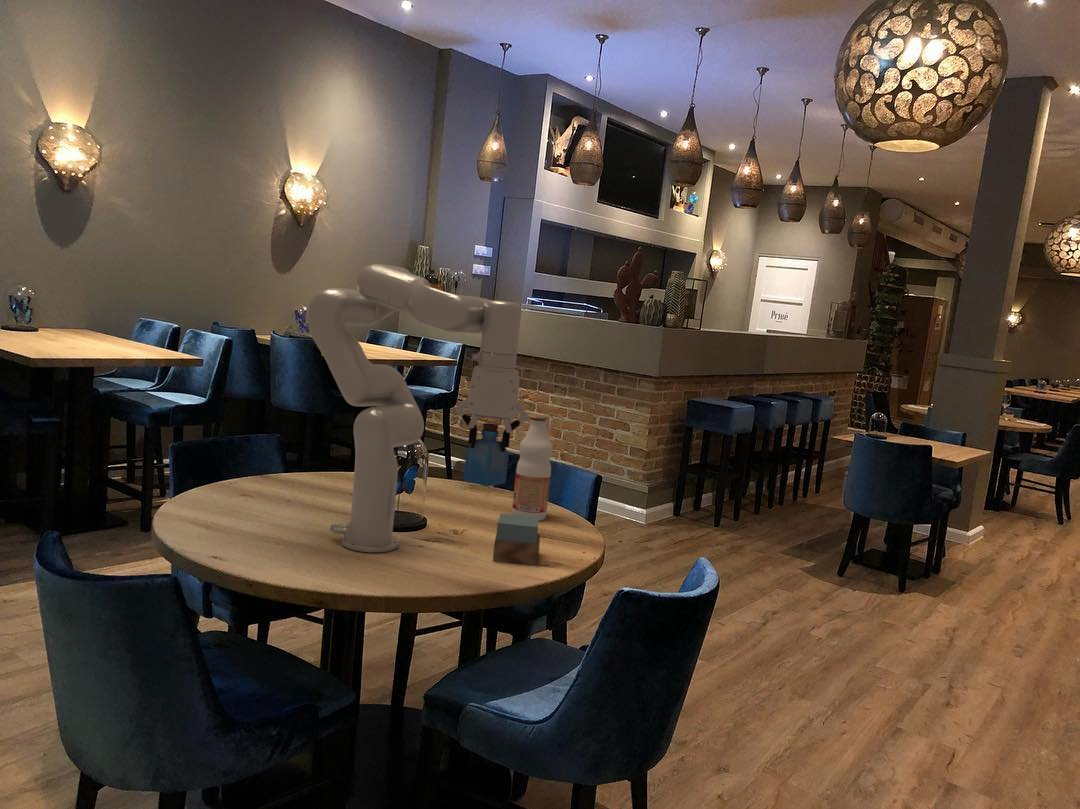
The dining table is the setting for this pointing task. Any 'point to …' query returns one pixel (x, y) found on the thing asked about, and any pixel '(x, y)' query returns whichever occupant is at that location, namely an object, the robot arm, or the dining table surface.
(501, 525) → the tower top
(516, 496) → the fruit juice
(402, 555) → the dining table surface
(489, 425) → the perfume bottle
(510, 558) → the tower base
